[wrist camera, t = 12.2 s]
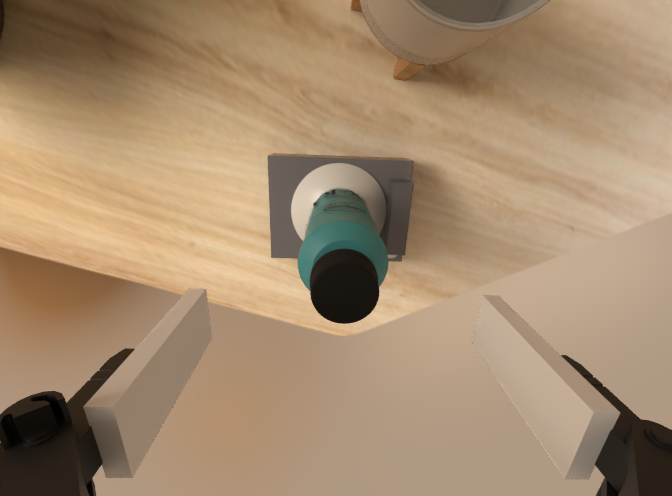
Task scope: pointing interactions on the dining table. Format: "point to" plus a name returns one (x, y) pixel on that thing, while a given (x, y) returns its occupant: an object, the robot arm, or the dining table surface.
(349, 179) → the domed button base
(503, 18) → the planter
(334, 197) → the beverage bottle
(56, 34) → the dining table surface
